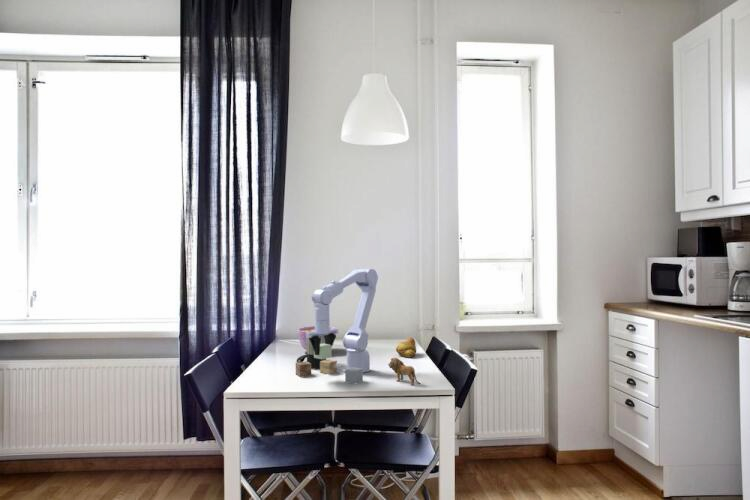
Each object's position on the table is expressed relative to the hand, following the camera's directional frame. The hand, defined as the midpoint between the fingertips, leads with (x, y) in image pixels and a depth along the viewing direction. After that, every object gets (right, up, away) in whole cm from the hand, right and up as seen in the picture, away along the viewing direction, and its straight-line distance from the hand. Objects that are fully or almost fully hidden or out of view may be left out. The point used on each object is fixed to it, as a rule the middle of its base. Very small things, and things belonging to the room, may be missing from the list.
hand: (322, 353), depth 208 cm
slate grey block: (+13, -10, -3) cm, 17 cm away
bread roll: (+36, -10, +45) cm, 59 cm away
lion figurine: (+32, -10, -5) cm, 34 cm away
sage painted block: (0, -2, 0) cm, 2 cm away
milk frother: (-8, -11, +26) cm, 29 cm away
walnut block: (-9, -11, +8) cm, 16 cm away
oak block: (+1, -11, +12) cm, 16 cm away
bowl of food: (-8, -10, +56) cm, 58 cm away
